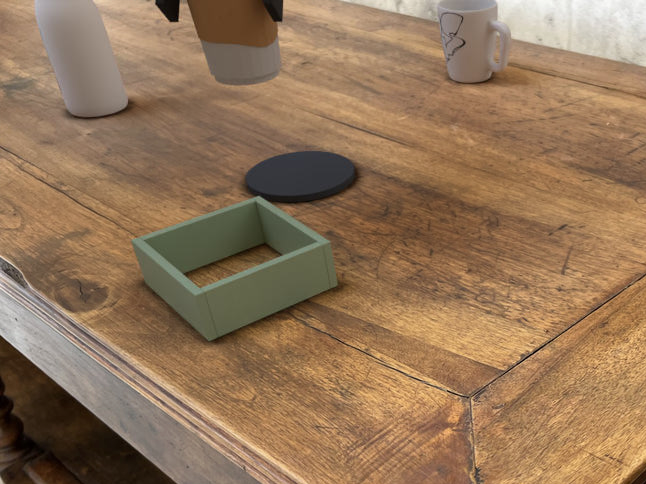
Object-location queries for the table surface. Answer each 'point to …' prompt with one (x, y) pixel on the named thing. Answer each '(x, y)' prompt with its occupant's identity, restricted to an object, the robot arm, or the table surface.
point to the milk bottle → (81, 56)
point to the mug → (472, 39)
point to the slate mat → (300, 176)
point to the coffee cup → (237, 40)
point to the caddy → (242, 288)
